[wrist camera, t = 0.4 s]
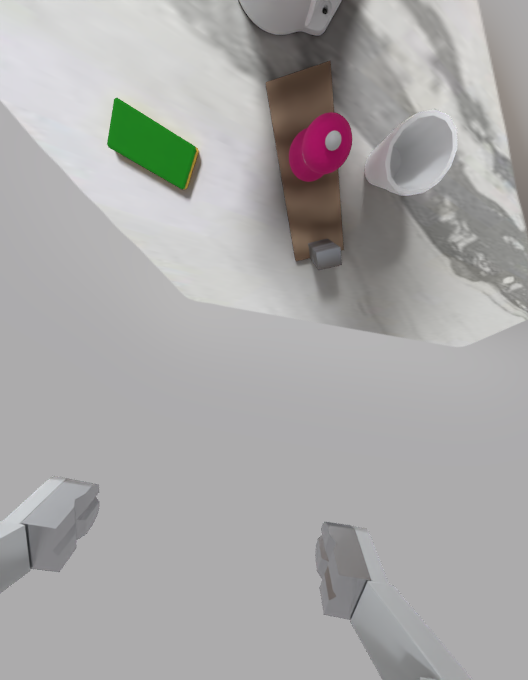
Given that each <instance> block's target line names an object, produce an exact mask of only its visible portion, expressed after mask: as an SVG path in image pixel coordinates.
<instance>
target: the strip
mask: <svg viewBox="0 0 528 680" xmlns="http://www.w3.org/2000/svg"><path fill="white" fill-rule="evenodd" d="M266 89H267V95H268V101H269V107H270V113H271V119H272V125H273V131H274V137H275V143H276V149H277V155H278V161H279V166H280V172H281V178H282V184H283V190H284V196H285V202H286V208H287V214H288V220H289V226H290V232H291V238H292V244H293V250H294V255H295V260H296V261H299V260H304V259H308V258H310V259H311V260H312V262H313V263H314V264H315V266H316V267H317V269H318V270H322V269H326V268H331V267H335V266H339V265H342V261H341V251H342V250H344V247H343V233H342V219H341V204H340V190H339V176H338V169H337V170H335V171H334V172H332V173H329V174H324V175H323V176H322V177H321V178H319V179H317V180H315V181H311V182H306V181H302V180H300V179H298V178H297V177H296V176H295V175H294V173H293V172H292V170H291V167H290V164H289V150H290V146H291V144H292V142H293V140H294V138H295V137H296V135H297V134H298V133H299V132H301V131H302V130H304V129H306V128H308V127H309V125H310V124H311V123H312V122H313V120H315V119H316V118H317V117H318V116H320V115H322V114H325V113H330V112H333V113H334V105H333V91H332V76H331V62H330V61H328V62H325V63H322V64H319V65H316V66H313V67H310V68H307V69H304V70H301V71H298V72H295V73H292V74H289V75H286V76H283V77H280V78H277V79H274V80H271V81H268V82H266Z"/></svg>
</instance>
